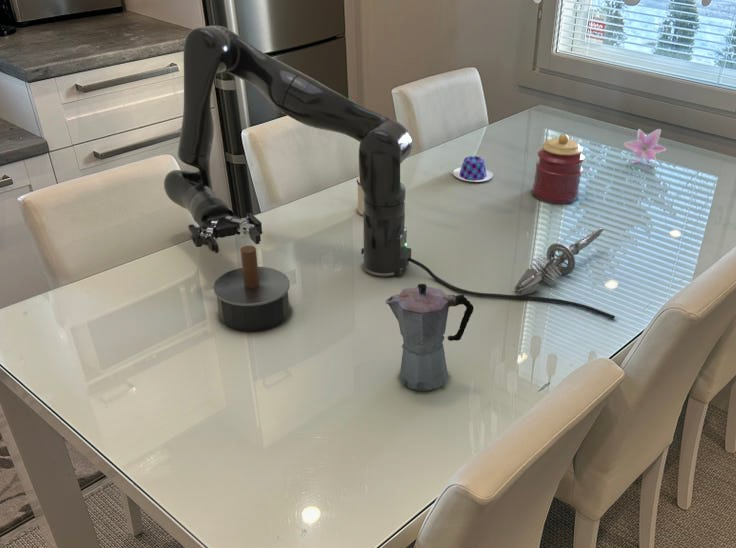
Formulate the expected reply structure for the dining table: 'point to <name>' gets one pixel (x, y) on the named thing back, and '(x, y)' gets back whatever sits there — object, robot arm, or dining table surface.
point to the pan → (254, 315)
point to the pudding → (473, 170)
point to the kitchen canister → (558, 170)
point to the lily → (646, 145)
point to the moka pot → (425, 333)
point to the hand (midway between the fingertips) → (237, 244)
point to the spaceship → (553, 264)
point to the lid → (251, 282)
